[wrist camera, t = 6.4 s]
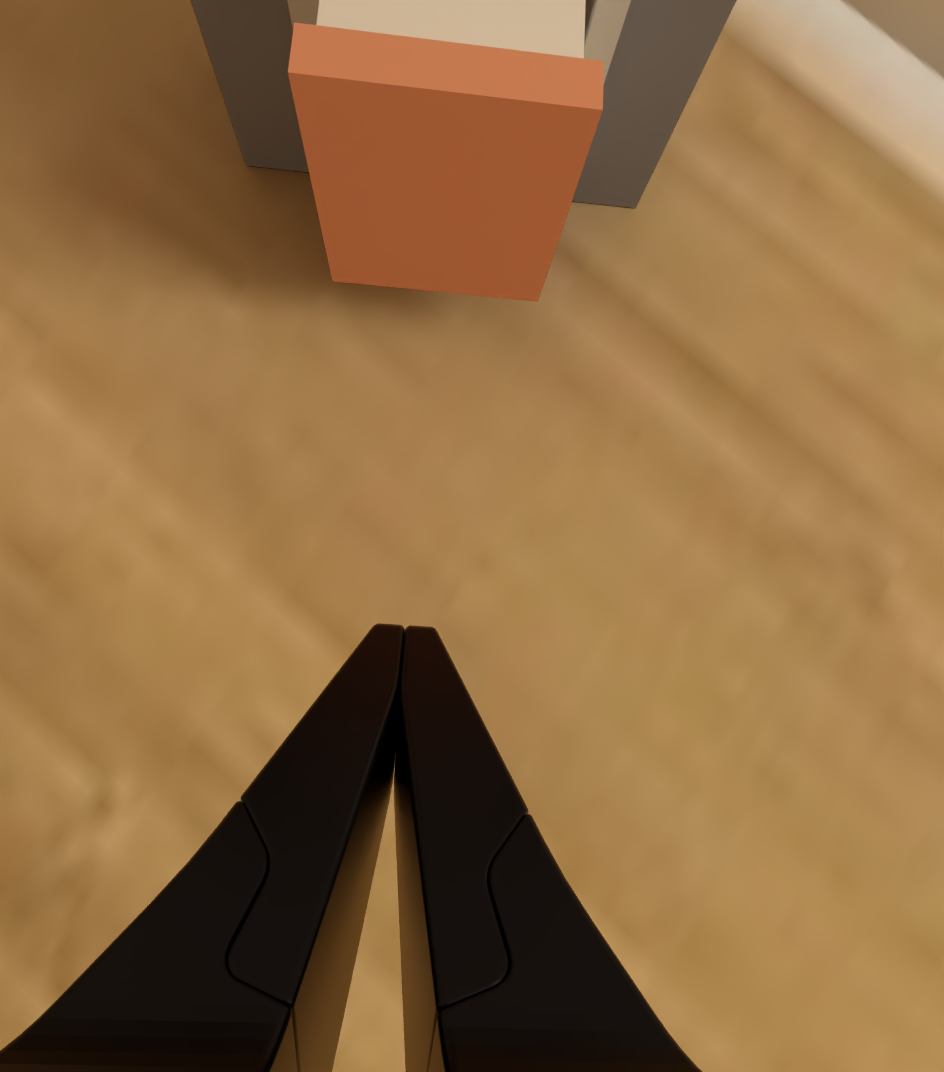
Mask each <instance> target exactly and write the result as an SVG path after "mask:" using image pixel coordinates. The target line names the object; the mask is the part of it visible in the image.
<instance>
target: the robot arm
mask: <svg viewBox="0 0 944 1072" xmlns="http://www.w3.org/2000/svg"><path fill="white" fill-rule="evenodd" d="M395 754H396V755H395ZM394 766H395V773H394ZM393 774H394V807H395V831H396V854H397V878H398V901H399V925H400V948H401V972H402V995H403V1018H404V1042H405V1065H406V1072H702V1071H701V1070H700V1069H699V1068H698V1067H697V1066H696V1065H695V1064H694V1063H693V1062H692V1061H691V1060H690V1058H689V1057H688V1056H687V1055H686V1054H685V1053H684V1052H683V1051H682V1049H681V1048H680V1047H679V1046H678V1044H677V1043H676V1042H675V1041H674V1039H673V1038H672V1037H671V1035H670V1034H669V1033H668V1031H667V1030H666V1029H665V1027H664V1026H663V1024H662V1023H661V1022H660V1020H659V1019H658V1017H657V1016H656V1014H655V1013H654V1011H653V1010H652V1008H651V1007H650V1005H649V1004H648V1003H647V1001H646V1000H645V998H644V997H643V995H642V994H641V992H640V991H639V989H638V988H637V986H636V985H635V983H634V982H633V980H632V979H631V977H630V976H629V974H628V973H627V971H626V970H625V968H624V967H623V965H622V964H621V962H620V961H619V959H618V958H617V956H616V955H615V954H614V952H613V951H612V949H611V948H610V946H609V945H608V943H607V942H606V940H605V939H604V937H603V936H602V934H601V933H600V931H599V930H598V928H597V927H596V925H595V924H594V922H593V921H592V919H591V918H590V916H589V915H588V913H587V912H586V910H585V908H584V907H583V905H582V904H581V902H580V901H579V899H578V897H577V896H576V894H575V893H574V891H573V890H572V888H571V886H570V885H569V883H568V882H567V880H566V879H565V877H564V875H563V873H562V872H561V870H560V868H559V866H558V864H557V863H556V861H555V859H554V857H553V855H552V854H551V852H550V850H549V848H548V846H547V845H546V843H545V841H544V839H543V837H542V835H541V833H540V831H539V829H538V827H537V825H536V823H535V821H534V819H533V817H532V816H531V815H530V814H528V808H527V806H526V804H525V802H524V800H523V798H522V797H521V795H520V793H519V791H518V789H517V787H516V785H515V783H514V781H513V779H512V777H511V775H510V773H509V771H508V769H507V767H506V765H505V763H504V761H503V759H502V757H501V755H500V753H499V752H498V750H497V748H496V746H495V744H494V742H493V740H492V738H491V736H490V734H489V732H488V730H487V728H486V726H485V724H484V722H483V720H482V718H481V716H480V714H479V712H478V710H477V708H476V707H475V705H474V703H473V701H472V699H471V697H470V695H469V693H468V691H467V689H466V687H465V685H464V683H463V681H462V679H461V677H460V675H459V673H458V671H457V669H456V667H455V665H454V663H453V662H452V660H451V658H450V656H449V654H448V652H447V650H446V648H445V646H444V644H443V642H442V640H441V638H440V636H439V634H438V632H437V631H436V629H435V628H433V627H425V626H408V627H407V628H406V629H404V627H403V626H402V625H394V624H376V625H374V626H373V627H372V628H371V630H370V631H369V632H368V634H367V635H366V636H365V637H364V639H363V640H362V641H361V643H360V644H359V645H358V646H357V648H356V649H355V650H354V652H353V653H352V654H351V655H350V657H349V658H348V659H347V661H346V662H345V663H344V664H343V666H342V667H341V668H340V670H339V671H338V672H337V674H336V675H335V676H334V677H333V679H332V680H331V681H330V683H329V684H328V685H327V686H326V688H325V689H324V690H323V692H322V693H321V694H320V695H319V697H318V698H317V699H316V701H315V702H314V703H313V704H312V706H311V707H310V708H309V710H308V711H307V712H306V713H305V715H304V716H303V717H302V719H301V720H300V721H299V723H298V724H297V725H296V726H295V728H294V729H293V730H292V732H291V733H290V734H289V735H288V737H287V738H286V739H285V741H284V742H283V743H282V744H281V746H280V747H279V748H278V750H277V751H276V752H275V753H274V755H273V756H272V757H271V759H270V760H269V761H268V762H267V764H266V765H265V766H264V768H263V769H262V770H261V772H260V773H259V774H258V775H257V777H256V778H255V779H254V781H253V782H252V783H251V784H250V786H249V787H248V788H247V790H246V791H245V792H244V793H243V795H242V796H241V801H238V802H236V803H235V805H234V806H233V807H232V808H231V810H230V811H229V812H228V814H227V815H226V816H225V818H224V819H223V820H222V821H221V823H220V824H219V825H218V827H217V828H216V829H215V830H214V831H213V833H212V834H211V835H210V836H209V837H208V839H207V840H206V841H205V842H204V844H203V845H202V846H201V847H200V848H199V850H198V851H197V852H196V853H195V854H194V856H193V857H192V858H191V859H190V860H189V862H188V863H187V864H186V865H185V866H184V867H183V868H182V869H181V870H180V872H179V873H178V874H177V875H176V876H175V877H174V878H173V879H172V880H171V881H170V882H169V883H168V885H167V886H166V887H165V888H164V889H163V890H162V891H161V892H160V893H159V894H158V895H157V897H156V898H155V899H154V900H153V901H152V902H151V903H150V904H149V905H148V906H147V907H146V908H145V909H144V910H143V911H142V912H141V913H140V914H139V915H138V916H137V917H136V919H135V920H134V921H133V922H132V923H131V924H130V925H129V926H128V927H127V928H126V929H125V930H124V931H123V932H122V933H121V934H120V935H119V936H118V937H117V938H116V939H115V940H114V941H113V942H112V943H111V944H110V945H109V947H108V948H107V949H106V950H105V951H104V952H103V953H102V954H101V955H100V956H99V957H98V958H97V959H96V960H95V961H94V962H93V963H92V964H91V965H90V966H89V967H88V968H87V969H86V970H85V971H84V972H83V973H82V975H81V976H80V977H79V978H78V979H77V980H76V981H75V982H74V983H73V984H72V985H71V986H70V987H69V988H68V989H67V990H66V991H65V992H64V993H63V994H62V995H61V996H60V997H59V998H58V999H57V1000H56V1001H55V1002H54V1003H53V1004H52V1005H51V1006H50V1007H49V1008H48V1009H47V1010H46V1011H45V1012H44V1013H43V1014H42V1015H41V1016H40V1017H39V1018H38V1019H37V1020H36V1021H35V1022H34V1023H33V1024H32V1025H31V1026H29V1027H28V1028H27V1029H26V1030H25V1031H24V1032H23V1033H22V1034H21V1035H19V1036H18V1037H17V1038H16V1039H14V1040H13V1041H12V1042H11V1043H9V1044H8V1045H7V1046H6V1047H4V1048H3V1049H2V1050H1V1051H0V1072H332V1069H333V1064H334V1059H335V1054H336V1050H337V1045H338V1040H339V1036H340V1031H341V1026H342V1021H343V1017H344V1012H345V1007H346V1002H347V998H348V993H349V988H350V984H351V979H352V974H353V969H354V965H355V960H356V955H357V951H358V946H359V941H360V936H361V932H362V927H363V922H364V918H365V913H366V908H367V903H368V899H369V894H370V889H371V884H372V880H373V875H374V870H375V866H376V861H377V856H378V851H379V847H380V842H381V837H382V833H383V828H384V823H385V818H386V814H387V809H388V804H389V799H390V794H391V788H392V783H393Z"/></svg>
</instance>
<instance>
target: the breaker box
mask: <svg viewBox="0 0 944 1072" xmlns="http://www.w3.org/2000/svg"><path fill="white" fill-rule="evenodd" d="M190 1H191V4H192V7H193V9H194V12H195V15H196V18H197V21H198V24H199V27H200V30H201V33H202V36H203V39H204V42H205V45H206V48H207V51H208V54H209V57H210V60H211V63H212V66H213V69H214V72H215V75H216V78H217V81H218V84H219V87H220V90H221V93H222V96H223V98H224V101H225V104H226V107H227V110H228V113H229V116H230V119H231V122H232V125H233V128H234V131H235V134H236V137H237V140H238V143H239V146H240V149H241V152H242V155H243V158H244V161H245V164H246V166H256V167H265V168H274V169H283V170H292V171H301V172H309V169H308V165H307V160H306V155H305V151H304V146H303V141H302V136H301V132H300V127H299V122H298V118H297V113H296V108H295V104H294V99H293V94H292V90H291V85H290V80H289V76H288V67H289V59H290V51H291V44H292V36H293V28H294V22H295V23H303V24H311V25H316V24H317V15H318V7H319V0H190ZM735 2H736V0H586V6H585V37H584V59H592V60H600V61H604V84H603V111H602V114H601V117H600V120H599V123H598V125H597V128H596V131H595V134H594V137H593V140H592V143H591V146H590V149H589V152H588V155H587V158H586V161H585V164H584V167H583V170H582V173H581V176H580V178H579V181H578V184H577V187H576V190H575V193H574V196H573V199H572V201H575V202H584V203H593V204H602V205H611V206H621V207H630V208H636V206H637V204H638V202H639V200H640V198H641V196H642V194H643V192H644V190H645V188H646V186H647V184H648V182H649V180H650V177H651V175H652V173H653V171H654V169H655V167H656V165H657V163H658V161H659V159H660V157H661V155H662V153H663V151H664V149H665V147H666V144H667V142H668V140H669V138H670V136H671V134H672V132H673V130H674V128H675V126H676V124H677V122H678V120H679V118H680V116H681V114H682V111H683V109H684V107H685V105H686V103H687V101H688V99H689V97H690V95H691V93H692V91H693V89H694V87H695V85H696V83H697V81H698V78H699V76H700V74H701V72H702V70H703V68H704V66H705V64H706V62H707V60H708V58H709V56H710V54H711V52H712V50H713V48H714V45H715V43H716V41H717V39H718V37H719V35H720V33H721V31H722V29H723V27H724V25H725V23H726V21H727V19H728V17H729V15H730V12H731V10H732V8H733V6H734V4H735Z"/></svg>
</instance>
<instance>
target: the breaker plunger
mask: <svg viewBox="0 0 944 1072" xmlns="http://www.w3.org/2000/svg"><path fill="white" fill-rule="evenodd" d="M585 6H586V0H319V7H318V15H317V24H316V25H311V24H303V23H295V22H294V28H293V36H292V44H291V51H290V59H289V67H288V76H289V80H290V85H291V90H292V94H293V99H294V104H295V108H296V113H297V118H298V122H299V127H300V132H301V136H302V141H303V146H304V151H305V155H306V160H307V165H308V169H309V174H310V179H311V183H312V188H313V193H314V197H315V202H316V207H317V211H318V216H319V221H320V225H321V230H322V235H323V239H324V244H325V249H326V254H327V258H328V263H329V268H330V272H331V277H332V281H336V282H346V283H356V284H366V285H376V286H387V287H397V288H407V289H417V290H427V291H437V292H447V293H457V294H468V295H478V296H488V297H498V298H508V299H518V300H528V301H538V299H539V296H540V293H541V290H542V287H543V284H544V281H545V278H546V276H547V273H548V270H549V267H550V264H551V261H552V258H553V255H554V252H555V249H556V246H557V243H558V240H559V237H560V234H561V231H562V228H563V226H564V223H565V220H566V217H567V214H568V211H569V208H570V205H571V202H572V199H573V196H574V193H575V190H576V187H577V184H578V181H579V178H580V176H581V173H582V170H583V167H584V164H585V161H586V158H587V155H588V152H589V149H590V146H591V143H592V140H593V137H594V134H595V131H596V128H597V125H598V123H599V120H600V117H601V114H602V111H603V84H604V61H600V60H592V59H584V37H585Z"/></svg>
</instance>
